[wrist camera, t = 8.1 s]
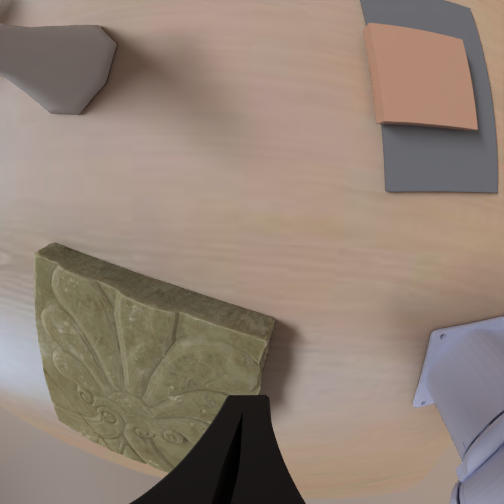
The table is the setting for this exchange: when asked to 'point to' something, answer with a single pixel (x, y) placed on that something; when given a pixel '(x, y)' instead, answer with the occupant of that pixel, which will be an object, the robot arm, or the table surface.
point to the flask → (57, 63)
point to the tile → (419, 78)
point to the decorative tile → (140, 355)
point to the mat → (433, 138)
